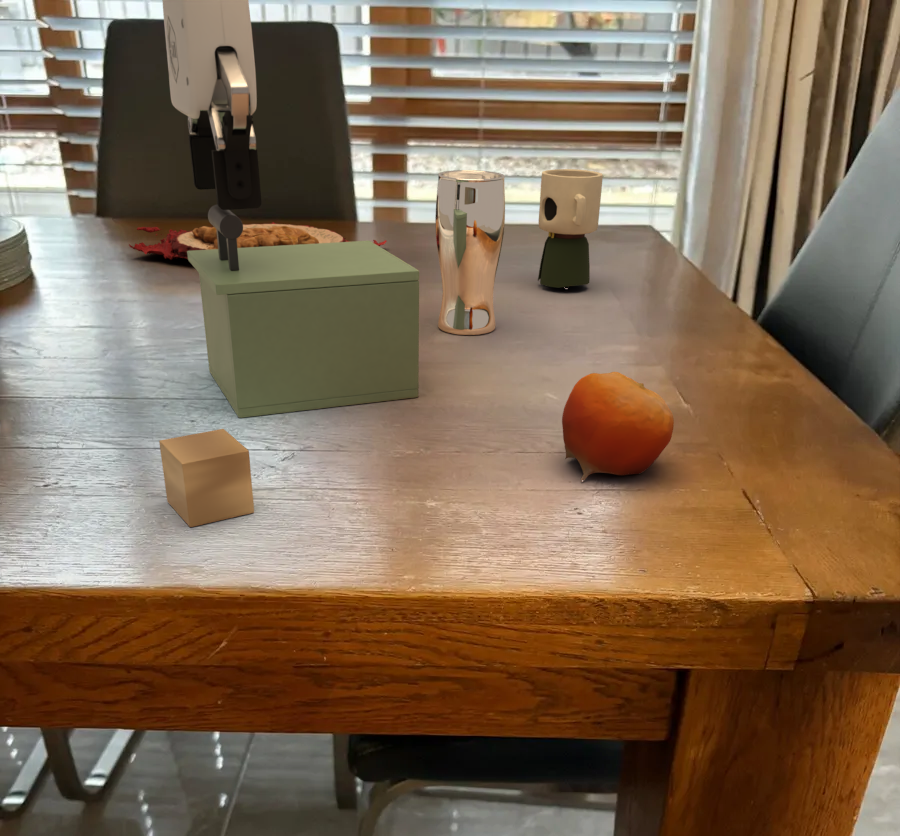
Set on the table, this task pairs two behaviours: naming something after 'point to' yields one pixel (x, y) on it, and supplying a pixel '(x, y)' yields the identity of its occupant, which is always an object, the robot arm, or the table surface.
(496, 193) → the beer glass
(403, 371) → the chest
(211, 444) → the block
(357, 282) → the chest door
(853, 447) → the table surface
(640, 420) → the fruit
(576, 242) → the character mug
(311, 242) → the plate with food
